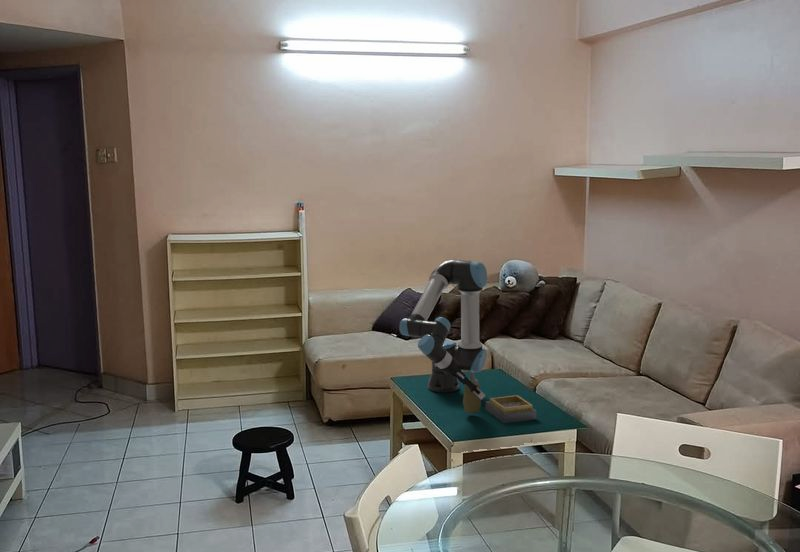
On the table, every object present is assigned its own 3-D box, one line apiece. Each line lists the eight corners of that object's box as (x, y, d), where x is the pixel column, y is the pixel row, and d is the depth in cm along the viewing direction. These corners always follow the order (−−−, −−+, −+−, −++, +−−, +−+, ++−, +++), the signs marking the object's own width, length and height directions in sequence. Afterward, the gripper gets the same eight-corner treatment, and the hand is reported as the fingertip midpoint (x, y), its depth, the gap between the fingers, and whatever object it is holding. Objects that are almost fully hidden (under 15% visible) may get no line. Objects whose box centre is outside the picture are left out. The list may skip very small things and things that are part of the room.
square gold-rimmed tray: (485, 409, 356) (485, 397, 355) (516, 406, 361) (517, 393, 360) (503, 423, 339) (503, 410, 338) (536, 419, 344) (536, 406, 343)
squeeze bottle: (480, 415, 343) (481, 375, 340) (461, 413, 344) (462, 374, 341) (481, 408, 351) (482, 370, 347) (463, 407, 352) (464, 368, 349)
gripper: (432, 363, 348) (465, 394, 356) (449, 375, 330) (483, 408, 338) (443, 350, 348) (475, 381, 357) (461, 362, 330) (495, 395, 339)
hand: (479, 394), depth 347 cm, fingers closed on squeeze bottle, 6 cm apart
